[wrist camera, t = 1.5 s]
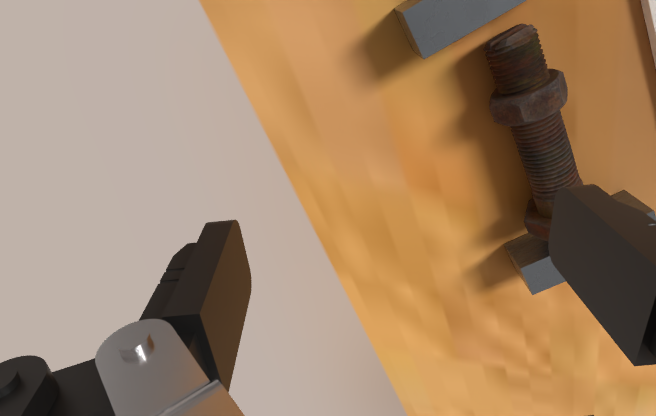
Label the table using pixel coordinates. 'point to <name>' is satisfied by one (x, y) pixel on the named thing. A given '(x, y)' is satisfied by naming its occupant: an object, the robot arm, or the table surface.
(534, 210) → the bolt
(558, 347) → the table surface
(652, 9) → the board
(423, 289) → the table surface
